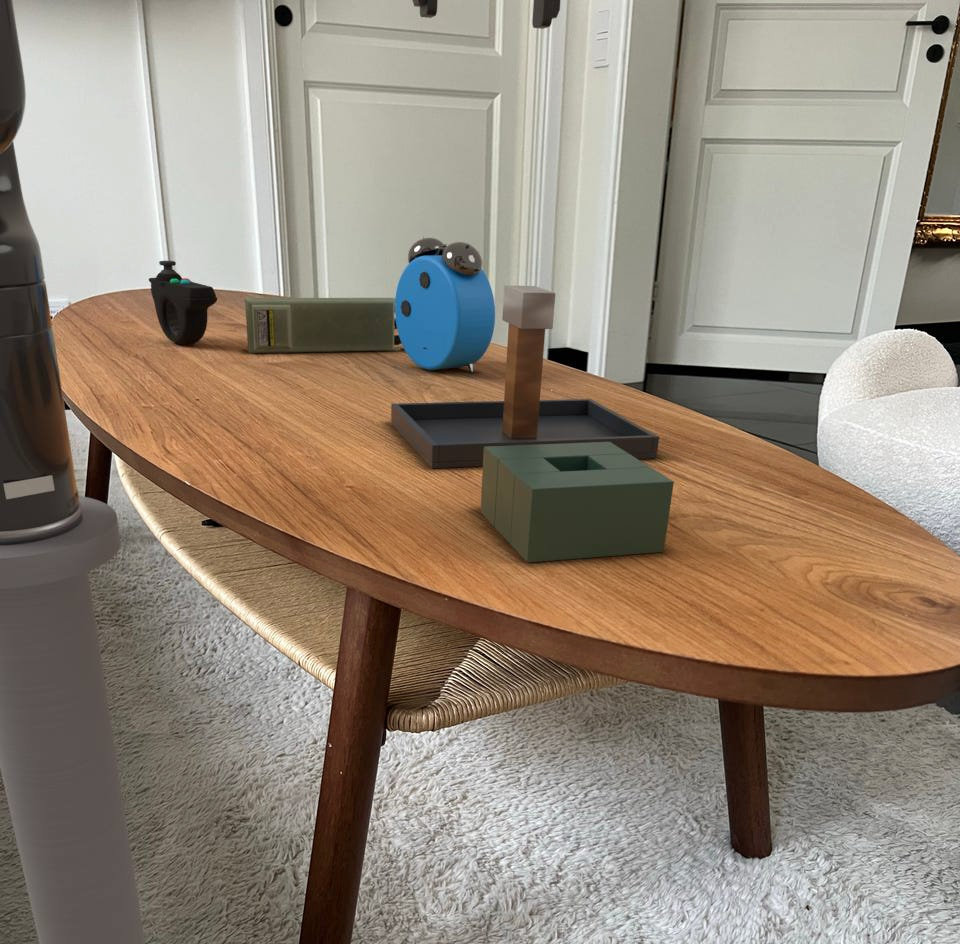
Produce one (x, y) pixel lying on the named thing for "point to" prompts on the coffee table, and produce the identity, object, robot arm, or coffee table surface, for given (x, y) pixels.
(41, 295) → the robot arm
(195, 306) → the controller
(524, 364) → the brown and grey block
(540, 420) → the tray
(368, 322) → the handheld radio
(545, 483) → the holder
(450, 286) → the alarm clock
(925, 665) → the coffee table surface
